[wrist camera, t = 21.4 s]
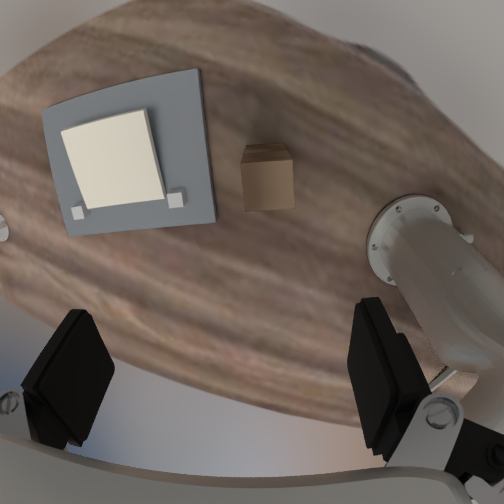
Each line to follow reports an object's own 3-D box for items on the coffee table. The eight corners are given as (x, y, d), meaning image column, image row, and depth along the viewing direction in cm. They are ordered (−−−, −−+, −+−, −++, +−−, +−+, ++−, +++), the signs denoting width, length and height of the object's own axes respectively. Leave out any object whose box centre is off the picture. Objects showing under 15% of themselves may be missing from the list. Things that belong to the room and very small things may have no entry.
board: (200, 69, 29) (194, 66, 26) (217, 217, 36) (213, 228, 34) (47, 109, 30) (33, 111, 27) (74, 232, 38) (62, 242, 35)
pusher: (283, 143, 32) (292, 160, 23) (285, 178, 34) (294, 208, 25) (246, 145, 33) (240, 163, 24) (249, 180, 34) (245, 211, 26)
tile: (164, 198, 33) (166, 194, 33) (143, 110, 26) (146, 107, 27) (87, 208, 33) (90, 204, 34) (60, 131, 27) (65, 128, 28)
